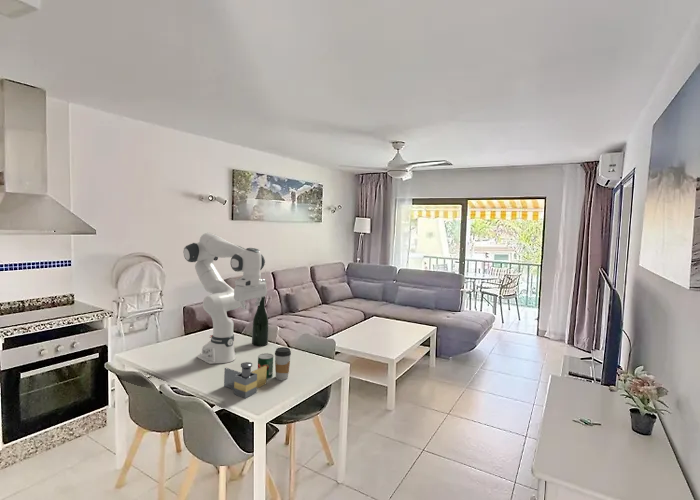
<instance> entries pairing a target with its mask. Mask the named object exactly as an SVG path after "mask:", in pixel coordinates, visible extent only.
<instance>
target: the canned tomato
mask: <svg viewBox="0 0 700 500" xmlns="http://www.w3.org/2000/svg"><path fill="white" fill-rule="evenodd" d="M274 357H275V356H274V354H272V353H268V352H267V353H261V354H260V353H259V355H258V356H257V369H259V368H261V367H264V366H267V373H266V380H269V379H272V378H273V376H274V375H273V373H274Z"/></svg>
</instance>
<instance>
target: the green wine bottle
mask: <svg viewBox="0 0 700 500" xmlns="http://www.w3.org/2000/svg"><path fill="white" fill-rule="evenodd" d="M265 301H266V296H264V297H262V298H261V301H260V305H259V306H256V307H257V308H256V311H255V313H254V316H253V320H252V328H251V331H252V332H251V345H252V346H255V347H265V346H267V345H268V344H269V317H268V314H267V311H266V302H265Z"/></svg>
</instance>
